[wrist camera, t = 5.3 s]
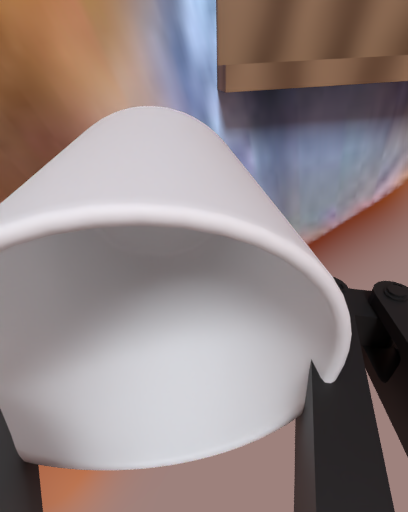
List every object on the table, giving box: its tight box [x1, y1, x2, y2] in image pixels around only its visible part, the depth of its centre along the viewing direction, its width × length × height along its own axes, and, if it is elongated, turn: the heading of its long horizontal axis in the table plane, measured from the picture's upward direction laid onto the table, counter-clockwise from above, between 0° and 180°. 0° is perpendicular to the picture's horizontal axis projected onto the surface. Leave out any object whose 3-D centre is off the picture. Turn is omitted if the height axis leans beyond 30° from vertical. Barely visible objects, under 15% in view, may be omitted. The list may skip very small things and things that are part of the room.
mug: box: [0, 106, 352, 470], centre depth 11 cm, size 12×8×10 cm
